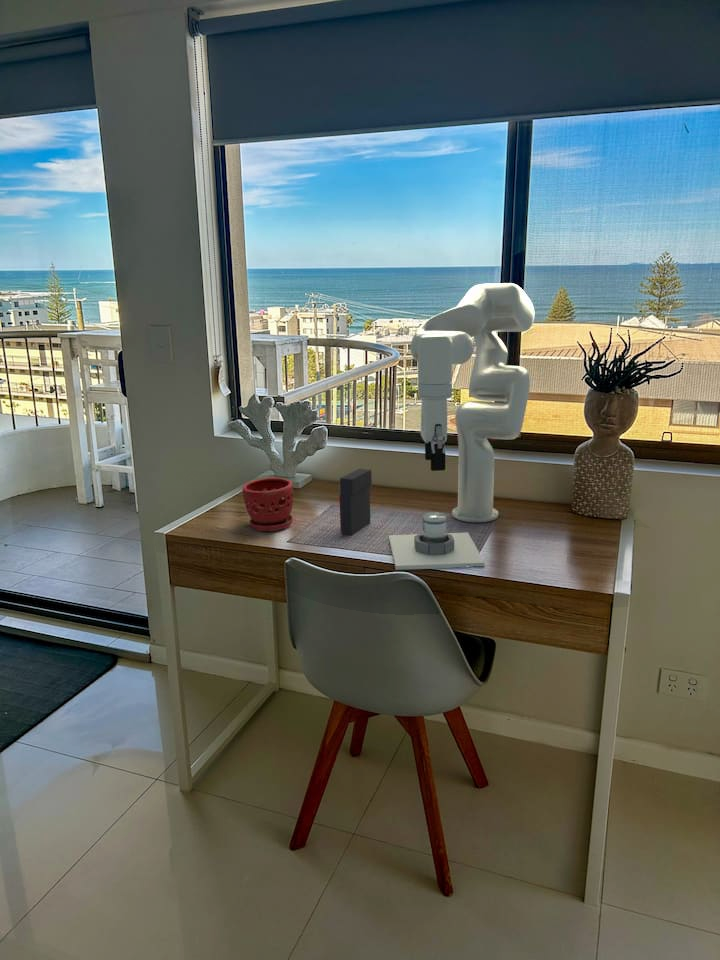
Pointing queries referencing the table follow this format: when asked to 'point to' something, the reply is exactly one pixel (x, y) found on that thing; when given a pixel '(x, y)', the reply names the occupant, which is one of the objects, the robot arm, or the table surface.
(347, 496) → the upright black box
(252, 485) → the plant pot
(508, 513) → the table surface
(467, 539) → the holder
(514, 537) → the table surface
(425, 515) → the piston
